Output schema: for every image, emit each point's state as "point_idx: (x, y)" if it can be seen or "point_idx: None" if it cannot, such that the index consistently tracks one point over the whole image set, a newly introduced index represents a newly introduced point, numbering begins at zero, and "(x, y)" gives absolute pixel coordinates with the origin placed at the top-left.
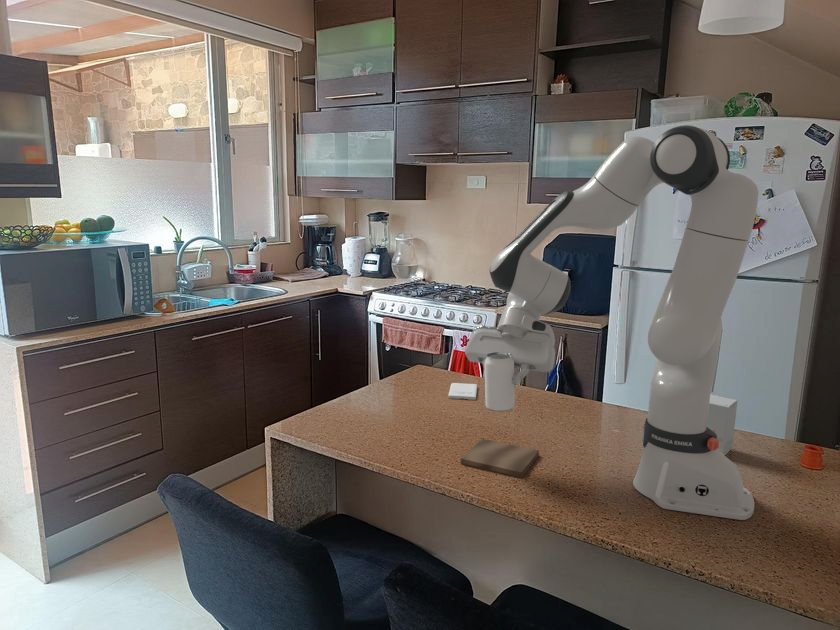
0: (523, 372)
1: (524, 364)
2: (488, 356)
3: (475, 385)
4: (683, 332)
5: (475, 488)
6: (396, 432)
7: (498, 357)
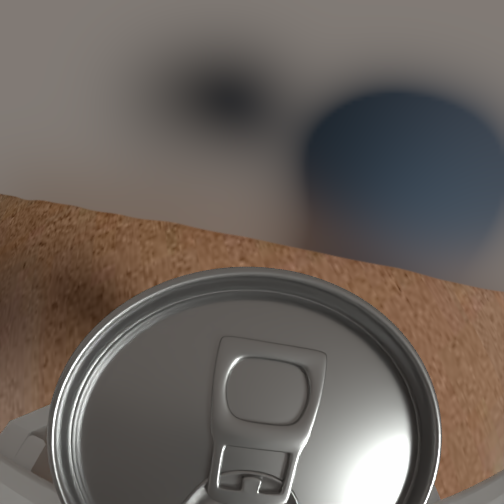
0: (40, 412)
1: (11, 455)
2: (405, 417)
3: None
4: None
5: (237, 256)
6: (468, 410)
7: (248, 409)
